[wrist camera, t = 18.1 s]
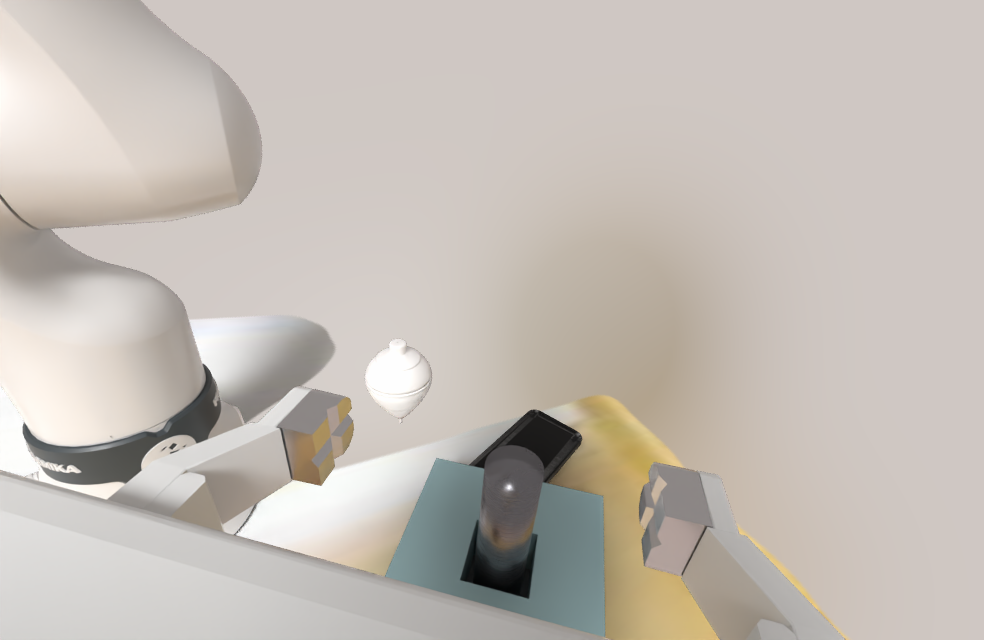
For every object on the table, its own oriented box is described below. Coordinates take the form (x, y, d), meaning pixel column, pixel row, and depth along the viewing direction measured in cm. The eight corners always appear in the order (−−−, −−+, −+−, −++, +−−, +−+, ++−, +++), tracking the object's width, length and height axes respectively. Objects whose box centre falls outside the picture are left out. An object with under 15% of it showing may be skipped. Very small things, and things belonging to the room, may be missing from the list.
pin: (462, 597, 35) (472, 471, 28) (489, 559, 38) (505, 436, 31) (502, 629, 34) (525, 504, 26) (527, 587, 36) (554, 463, 29)
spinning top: (426, 447, 51) (427, 364, 45) (361, 443, 50) (353, 359, 44) (434, 404, 57) (436, 327, 51) (377, 400, 57) (372, 322, 51)
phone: (585, 435, 53) (516, 516, 43) (583, 442, 54) (515, 523, 43) (532, 406, 57) (457, 473, 47) (531, 413, 58) (457, 480, 47)
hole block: (363, 682, 31) (356, 640, 28) (435, 498, 45) (436, 458, 42) (587, 753, 28) (606, 716, 25) (590, 536, 42) (603, 496, 39)
